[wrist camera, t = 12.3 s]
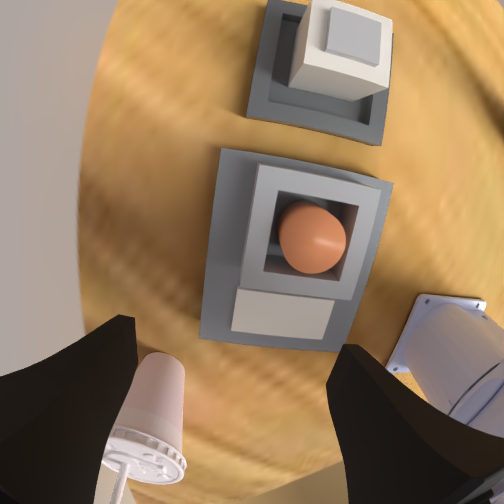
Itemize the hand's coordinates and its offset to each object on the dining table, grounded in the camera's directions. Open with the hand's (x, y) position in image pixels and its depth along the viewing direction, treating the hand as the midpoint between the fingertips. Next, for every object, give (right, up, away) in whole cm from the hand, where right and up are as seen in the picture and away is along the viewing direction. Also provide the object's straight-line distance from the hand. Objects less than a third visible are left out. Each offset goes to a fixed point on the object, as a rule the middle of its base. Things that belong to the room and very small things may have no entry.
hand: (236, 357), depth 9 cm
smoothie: (-7, -6, +13) cm, 16 cm away
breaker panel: (+3, +3, +9) cm, 10 cm away
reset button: (+3, +5, +6) cm, 9 cm away
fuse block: (+5, +15, +5) cm, 16 cm away
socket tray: (+5, +15, +5) cm, 16 cm away
